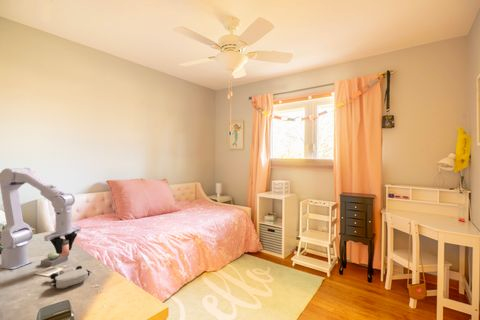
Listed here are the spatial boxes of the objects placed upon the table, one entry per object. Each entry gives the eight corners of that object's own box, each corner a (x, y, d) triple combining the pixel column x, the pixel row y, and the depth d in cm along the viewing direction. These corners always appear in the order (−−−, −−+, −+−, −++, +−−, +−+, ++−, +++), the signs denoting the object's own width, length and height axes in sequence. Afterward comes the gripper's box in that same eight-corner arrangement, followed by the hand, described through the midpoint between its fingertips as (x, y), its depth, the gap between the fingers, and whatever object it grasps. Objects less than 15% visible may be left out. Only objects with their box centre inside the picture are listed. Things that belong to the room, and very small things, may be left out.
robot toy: (46, 283, 90) (53, 296, 80) (46, 272, 90) (52, 282, 80) (83, 272, 99) (93, 281, 89) (83, 261, 99) (93, 270, 89)
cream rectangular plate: (34, 274, 96) (34, 273, 96) (51, 267, 102) (51, 266, 102) (48, 276, 93) (48, 275, 93) (64, 269, 99) (64, 268, 99)
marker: (56, 257, 102) (56, 241, 102) (65, 253, 105) (65, 238, 105) (62, 258, 100) (62, 242, 100) (71, 254, 104) (71, 239, 104)
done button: (44, 261, 105) (44, 255, 105) (56, 257, 110) (56, 251, 110) (52, 262, 103) (52, 256, 103) (64, 258, 108) (64, 252, 108)
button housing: (40, 264, 104) (40, 260, 104) (57, 258, 111) (57, 254, 111) (51, 266, 102) (51, 262, 102) (67, 260, 109) (67, 255, 109)
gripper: (52, 226, 95) (52, 259, 95) (85, 218, 109) (85, 246, 109) (40, 225, 97) (41, 257, 97) (74, 217, 111) (74, 245, 111)
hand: (63, 251), depth 103 cm, fingers closed on marker, 4 cm apart
